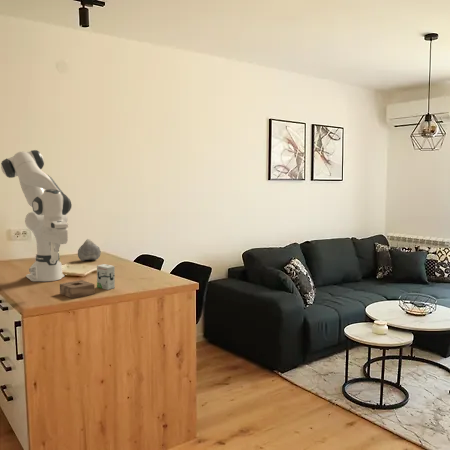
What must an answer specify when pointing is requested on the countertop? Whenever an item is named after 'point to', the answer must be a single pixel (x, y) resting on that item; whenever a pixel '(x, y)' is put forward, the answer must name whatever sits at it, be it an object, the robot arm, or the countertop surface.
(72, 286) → the bore block
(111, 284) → the ink box
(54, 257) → the pin
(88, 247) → the decorative stone
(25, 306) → the countertop surface
